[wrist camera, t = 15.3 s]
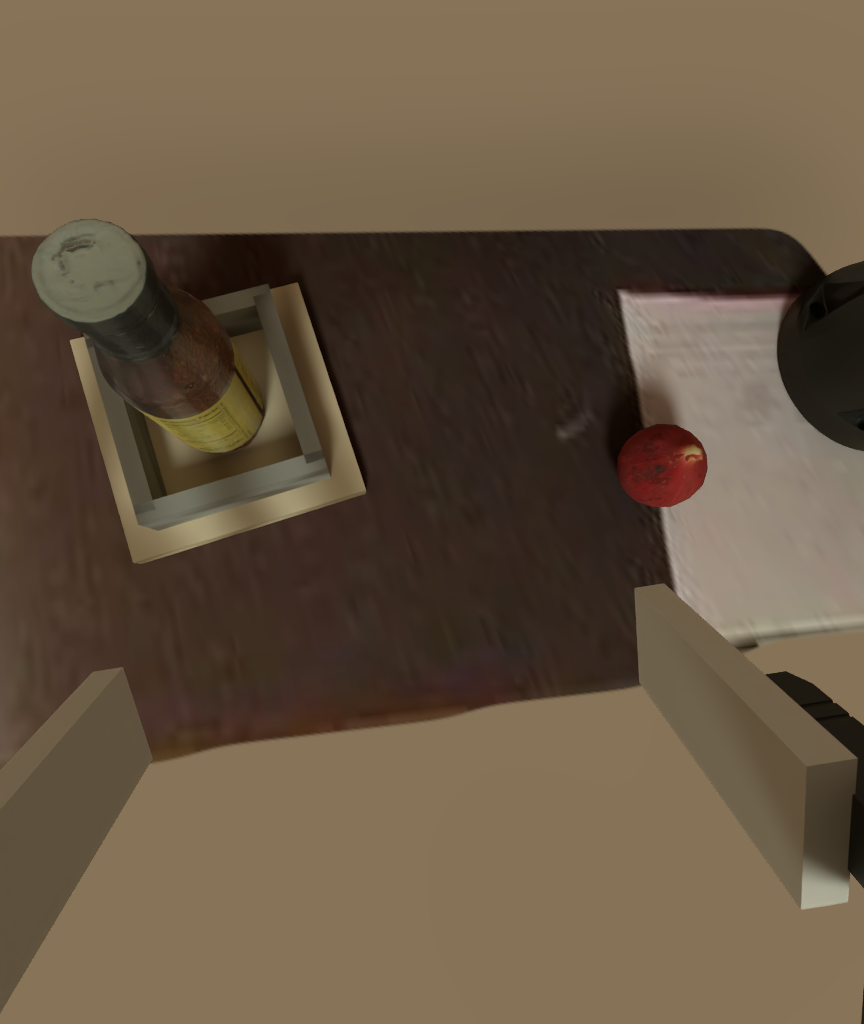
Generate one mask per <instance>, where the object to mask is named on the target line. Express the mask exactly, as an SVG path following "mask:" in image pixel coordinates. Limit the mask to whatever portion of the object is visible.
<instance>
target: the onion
mask: <svg viewBox="0 0 864 1024" xmlns="http://www.w3.org/2000/svg"><path fill="white" fill-rule="evenodd" d="M706 473H707V455H706V453H705V450H704V448H703V446H702V443H701V442H700V441H699V440H698V439H697V438H696V437H695V436H694V435H693V434H692V433H691V432H689V431H687V430H685V429H683V428H681V427H679V426H677V425H667V424H656V425H653V426H651V427H648V428H645V429H642V430H640V431H638V432H637V433H635V434H634V435H633V436H632V437H631V438H630V439H628V440H627V441H626V442H625V444H624V445H623V447H622V449H621V451H620V453H619V455H618V459H617V476H618V478H619V481H620V483H621V486H622V488H623V490H624V491H625V492H626V493H627V494H628V495H629V496H630V497H631V498H632V499H633V500H634V501H637V502H639V503H642V504H645V505H648V506H652V507H671V506H673V505H676V504H678V503H680V502H682V501H685V500H687V499H689V498H690V497H691V496H692V495H693V494H694V493H695V492H696V491H697V490H698V489H699V488H700V487H701V486H702V485H703V483H704V479H705V476H706Z"/></svg>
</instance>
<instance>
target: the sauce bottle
mask: <svg viewBox="0 0 864 1024" xmlns="http://www.w3.org/2000/svg"><path fill="white" fill-rule="evenodd" d="M31 268H32V280H33V283H34V286H35V289H36V291H37V293H38V295H39V298H40V299H41V301H42V302H43V303H44V304H45V305H46V306H47V307H48V308H49V309H50V310H51V311H52V312H53V313H54V314H55V315H56V316H57V317H58V318H60V320H61V321H63V322H64V323H65V324H66V325H67V326H69V327H71V328H73V329H75V330H77V331H80V332H82V333H85V334H86V335H87V336H89V338H90V339H91V340H92V342H93V346H94V350H95V354H96V358H97V362H98V365H99V368H100V370H101V373H102V375H103V377H104V378H105V380H106V381H107V383H108V384H109V386H110V387H111V388H112V389H113V390H114V391H115V392H116V393H117V394H118V395H119V396H120V397H121V398H122V399H123V400H125V401H126V402H128V403H129V404H130V405H132V406H133V407H135V408H136V409H138V410H139V411H140V412H142V413H143V414H145V415H146V416H148V417H149V418H150V419H152V420H153V421H155V422H156V423H158V424H159V425H160V426H162V427H163V428H164V429H166V430H167V431H169V432H170V433H171V434H173V435H174V436H175V437H177V438H178V439H180V440H181V441H182V442H184V443H185V444H187V445H189V446H190V447H192V448H195V449H197V450H200V451H204V452H208V453H211V454H222V453H227V452H233V451H236V450H238V449H240V448H244V447H246V446H247V445H249V444H250V443H251V441H252V440H253V439H254V438H255V437H256V435H257V433H258V431H259V429H260V428H261V425H262V422H263V420H264V416H265V407H264V403H263V399H262V394H261V391H260V388H259V386H258V384H257V382H256V381H255V379H254V377H253V376H252V374H251V372H250V371H249V369H248V367H247V366H246V364H245V362H244V361H243V359H242V357H241V356H240V354H239V352H238V351H237V349H236V347H235V345H234V344H233V342H232V340H231V339H230V337H229V335H228V334H227V332H226V331H225V329H224V328H223V327H222V325H221V324H220V323H219V322H218V321H217V319H216V317H215V316H214V314H213V313H212V312H211V310H210V309H209V308H208V307H207V306H206V305H205V304H204V303H203V302H202V301H201V300H199V299H196V298H195V297H194V296H192V295H191V294H190V293H188V292H185V291H183V290H181V289H179V288H178V287H176V286H175V285H174V284H173V283H172V282H170V281H168V280H159V278H158V277H157V274H156V271H155V269H154V265H153V263H152V261H151V259H150V258H149V256H148V255H147V253H146V252H145V250H144V249H143V248H142V247H141V246H140V244H139V243H138V242H137V241H136V239H135V238H134V237H133V236H132V235H130V234H129V233H128V232H126V231H125V230H124V229H123V228H121V227H119V226H117V225H115V224H113V223H111V222H106V221H101V220H97V219H81V220H76V221H72V222H69V223H67V224H65V225H63V226H61V227H59V228H58V229H56V230H55V231H54V232H52V233H51V234H50V235H49V236H48V237H47V238H46V239H45V240H44V241H43V242H42V243H41V244H40V245H39V247H38V249H37V251H36V253H35V255H34V257H33V262H32V267H31Z"/></svg>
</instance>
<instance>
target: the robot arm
mask: <svg viewBox="0 0 864 1024" xmlns="http://www.w3.org/2000/svg"><path fill="white" fill-rule="evenodd" d="M778 355H779V364H780V370H781V374H782V378H783V381H784V384H785V386H786V389H787V391H788V393H789V395H790V397H791V399H792V401H793V402H794V404H795V406H796V407H797V408H798V410H799V411H800V412H801V414H802V415H803V416H804V417H805V418H806V420H807V421H808V422H809V423H810V424H811V425H812V426H814V427H815V428H816V429H817V430H818V431H819V432H821V433H822V434H824V435H825V436H827V437H828V438H830V439H831V440H833V441H835V442H837V443H839V444H841V445H844V446H846V447H849V448H852V449H856V450H861V451H864V261H863V262H859V263H855V264H852V265H849V266H846V267H843V268H841V269H839V270H837V271H835V272H833V273H831V274H829V275H828V276H826V277H825V278H823V279H822V280H820V281H819V282H817V283H816V284H814V285H813V286H812V287H810V288H809V289H807V290H806V291H805V292H803V293H802V294H801V295H800V296H799V297H798V298H797V300H796V301H795V302H794V303H793V305H792V306H791V308H790V309H789V311H788V313H787V315H786V317H785V319H784V321H783V324H782V328H781V332H780V337H779V346H778ZM635 607H636V626H637V646H638V665H639V682H640V684H641V685H642V687H643V688H644V689H645V691H646V692H647V694H648V695H649V696H650V698H651V699H652V701H653V702H654V704H655V705H656V706H657V708H658V709H659V711H660V712H661V713H662V715H663V716H664V718H665V719H666V720H667V722H668V723H669V725H670V726H671V727H672V729H673V730H674V732H675V733H676V734H677V736H678V737H679V739H680V740H681V742H682V743H683V744H684V746H685V747H686V749H687V750H688V751H689V753H690V754H691V756H692V757H693V758H694V760H695V761H696V762H697V764H698V765H699V767H700V768H701V770H702V771H703V772H704V774H705V775H706V777H707V778H708V779H709V781H710V782H711V784H712V785H713V787H714V788H715V789H716V791H717V792H718V794H719V795H720V796H721V798H722V799H723V801H724V802H725V803H726V805H727V806H728V808H729V809H730V810H731V812H732V813H733V815H734V816H735V817H736V819H737V820H738V822H739V823H740V825H741V826H742V827H743V829H744V830H745V831H746V833H747V834H748V836H749V837H750V839H751V840H752V841H753V842H754V844H755V846H756V847H757V848H758V850H759V851H760V853H761V854H762V856H763V857H764V858H765V860H766V861H767V863H768V864H769V865H770V867H771V868H772V870H773V871H774V872H775V874H776V875H777V877H778V878H779V879H780V881H781V882H782V884H783V885H784V886H785V888H786V889H787V891H788V892H789V893H790V895H791V896H792V898H793V899H794V900H795V902H796V903H797V905H798V906H799V908H800V909H808V908H814V907H821V906H827V905H833V904H840V903H846V902H848V894H849V879H850V873H851V874H852V875H853V876H854V877H855V878H856V880H857V881H858V882H859V883H860V884H861V885H862V887H863V888H864V725H862V724H861V723H860V722H859V721H857V720H856V719H855V718H854V717H850V716H849V713H848V712H847V711H845V710H844V709H843V708H842V707H840V706H839V705H838V704H837V703H833V701H832V699H831V698H830V697H828V696H827V695H826V694H825V693H823V692H822V691H821V690H820V689H818V688H817V687H816V686H815V685H814V684H812V683H810V682H808V681H806V680H804V679H801V678H799V677H797V676H795V675H793V674H790V673H788V672H786V671H785V672H778V673H772V674H766V675H765V674H764V673H763V672H762V671H760V670H759V669H758V668H757V667H756V666H755V665H754V664H752V662H750V661H749V660H748V659H747V658H746V657H745V656H744V655H743V654H742V653H740V652H739V651H738V650H737V649H736V648H735V647H734V646H733V645H732V644H731V643H729V642H728V641H727V640H726V639H725V638H724V637H723V636H722V635H721V634H719V633H718V632H717V631H716V630H715V629H714V628H713V627H712V626H711V625H709V624H708V623H707V622H706V621H705V620H704V619H703V618H702V617H701V616H699V615H698V614H697V613H696V612H695V611H694V610H693V609H692V608H691V607H690V606H688V605H687V604H686V603H685V602H684V601H683V600H682V599H681V598H680V597H678V596H677V595H676V594H675V593H674V592H673V591H672V590H671V589H670V588H668V587H667V586H666V585H665V584H658V585H651V586H645V587H638V588H635ZM152 759H153V758H152V755H151V752H150V749H149V746H148V743H147V740H146V737H145V734H144V731H143V728H142V725H141V721H140V718H139V715H138V712H137V709H136V706H135V703H134V700H133V697H132V694H131V691H130V688H129V685H128V682H127V679H126V676H125V672H124V669H123V667H122V668H115V669H109V670H102V671H96V672H92V673H91V674H90V675H89V676H88V677H87V679H86V680H85V681H84V682H83V683H82V684H81V685H80V686H79V687H78V688H77V689H76V690H75V691H74V692H73V693H72V694H71V696H70V697H69V698H68V699H67V700H66V701H65V702H64V703H63V704H62V705H61V706H60V707H59V708H58V709H57V710H56V711H55V713H54V714H53V715H52V716H51V717H50V718H49V719H48V720H47V721H46V722H45V723H44V724H43V725H42V726H41V727H40V729H39V730H38V731H37V732H36V733H35V734H34V735H33V736H32V737H31V738H30V739H29V740H28V741H27V742H26V743H25V744H24V746H23V747H22V748H21V749H20V750H19V751H18V752H17V753H16V754H15V755H14V756H13V757H12V758H11V759H10V760H9V761H8V763H7V764H6V765H5V766H4V767H3V768H2V769H1V770H0V1013H1V1011H2V1009H3V1008H4V1006H5V1004H6V1003H7V1001H8V999H9V998H10V996H11V994H12V993H13V991H14V989H15V988H16V986H17V984H18V983H19V981H20V979H21V978H22V976H23V974H24V973H25V971H26V969H27V968H28V966H29V964H30V963H31V961H32V959H33V957H34V956H35V954H36V952H37V951H38V949H39V947H40V946H41V944H42V942H43V941H44V939H45V937H46V935H47V934H48V932H49V931H50V929H51V927H52V926H53V924H54V922H55V921H56V919H57V917H58V916H59V914H60V912H61V911H62V909H63V907H64V906H65V904H66V902H67V901H68V899H69V897H70V896H71V894H72V892H73V891H74V889H75V887H76V886H77V884H78V882H79V881H80V879H81V877H82V876H83V874H84V872H85V871H86V869H87V867H88V866H89V864H90V862H91V861H92V859H93V857H94V855H95V854H96V852H97V851H98V848H99V847H100V845H101V844H102V842H103V840H104V839H105V837H106V836H107V834H108V832H109V830H110V829H111V827H112V825H113V824H114V822H115V820H116V819H117V817H118V815H119V813H120V812H121V810H122V809H123V807H124V805H125V804H126V802H127V800H128V799H129V797H130V795H131V793H132V792H133V790H134V789H135V787H136V785H137V784H138V782H139V780H140V778H141V777H142V775H143V774H144V772H145V770H146V769H147V767H148V765H149V764H150V762H151V760H152ZM861 1024H864V991H863V1007H862V1021H861Z"/></svg>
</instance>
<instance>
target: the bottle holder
mask: <svg viewBox="0 0 864 1024" xmlns="http://www.w3.org/2000/svg"><path fill="white" fill-rule="evenodd" d="M202 302H203V303H204V304H205V305H206V306H207V307H208V308H209V309H210V310H211V312H212V313H213V314H214V316H215V317H216V319H217V321H218V322H219V323H220V324H221V325H222V327H223V328H224V329H225V331H226V332H227V334H228V335H229V337H230V339H231V340H232V342H233V344H234V345H235V347H236V349H237V351H238V352H239V354H240V356H241V357H242V359H243V361H244V362H245V364H246V366H247V367H248V369H249V371H250V372H251V374H252V376H253V377H254V379H255V381H256V382H257V384H258V386H259V388H260V391H261V394H262V399H263V403H264V407H265V416H264V420H263V422H262V425H261V428H260V429H259V431H258V433H257V435H256V437H255V438H254V439H253V440H252V441H251V443H250V444H249V445H247V446H246V447H244V448H240V449H238V450H236V451H233V452H227V453H222V454H211V453H208V452H204V451H200V450H197V449H195V448H192V447H190V446H189V445H187V444H185V443H184V442H182V441H181V440H180V439H178V438H177V437H175V436H174V435H173V434H171V433H170V432H169V431H167V430H166V429H164V428H163V427H162V426H160V425H159V424H158V423H156V422H155V421H153V420H152V419H150V418H149V417H148V416H146V415H145V414H143V413H142V412H140V411H139V410H138V409H136V408H135V407H133V406H132V405H130V404H129V403H128V402H126V401H125V400H123V399H122V398H121V397H120V396H119V395H118V394H117V393H116V392H115V391H114V390H113V389H112V388H111V387H110V386H109V384H108V383H107V381H106V380H105V378H104V377H103V375H102V373H101V370H100V368H99V365H98V362H97V358H96V354H95V350H94V346H93V342H92V340H91V339H90V338H89V336H87V335H86V334H85V333H83V335H84V337H81V338H77V339H73V340H70V343H71V347H72V350H73V354H74V357H75V361H76V364H77V368H78V371H79V375H80V378H81V382H82V385H83V389H84V392H85V396H86V399H87V403H88V406H89V410H90V413H91V417H92V420H93V424H94V427H95V431H96V434H97V438H98V441H99V445H100V448H101V452H102V455H103V459H104V462H105V466H106V469H107V473H108V476H109V480H110V483H111V487H112V490H113V494H114V497H115V501H116V504H117V508H118V511H119V515H120V518H121V522H122V525H123V529H124V532H125V536H126V539H127V543H128V546H129V550H130V553H131V557H132V560H133V563H139V564H143V563H146V562H150V561H153V560H156V559H159V558H162V557H165V556H169V555H172V554H175V553H178V552H181V551H185V550H188V549H191V548H194V547H197V546H201V545H204V544H207V543H210V542H213V541H216V540H220V539H223V538H226V537H229V536H232V535H236V534H239V533H242V532H245V531H248V530H252V529H255V528H258V527H261V526H264V525H267V524H271V523H274V522H277V521H280V520H283V519H287V518H290V517H293V516H296V515H299V514H302V513H306V512H309V511H312V510H315V509H318V508H322V507H325V506H328V505H331V504H334V503H338V502H341V501H344V500H347V499H350V498H353V497H357V496H360V495H363V494H366V488H365V485H364V482H363V479H362V476H361V473H360V470H359V467H358V464H357V461H356V458H355V455H354V452H353V449H352V446H351V443H350V440H349V437H348V434H347V431H346V428H345V425H344V422H343V418H342V415H341V412H340V409H339V406H338V403H337V400H336V397H335V394H334V391H333V388H332V385H331V382H330V379H329V376H328V373H327V370H326V367H325V364H324V361H323V358H322V355H321V352H320V349H319V346H318V343H317V340H316V337H315V334H314V331H313V327H312V324H311V321H310V318H309V315H308V312H307V309H306V306H305V303H304V300H303V297H302V294H301V291H300V288H299V285H298V282H297V283H293V284H289V285H285V286H281V287H277V288H273V289H270V288H269V285H268V284H265V285H261V286H257V287H253V288H249V289H245V290H241V291H237V292H233V293H229V294H226V295H222V296H218V297H214V298H210V299H206V300H202Z"/></svg>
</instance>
